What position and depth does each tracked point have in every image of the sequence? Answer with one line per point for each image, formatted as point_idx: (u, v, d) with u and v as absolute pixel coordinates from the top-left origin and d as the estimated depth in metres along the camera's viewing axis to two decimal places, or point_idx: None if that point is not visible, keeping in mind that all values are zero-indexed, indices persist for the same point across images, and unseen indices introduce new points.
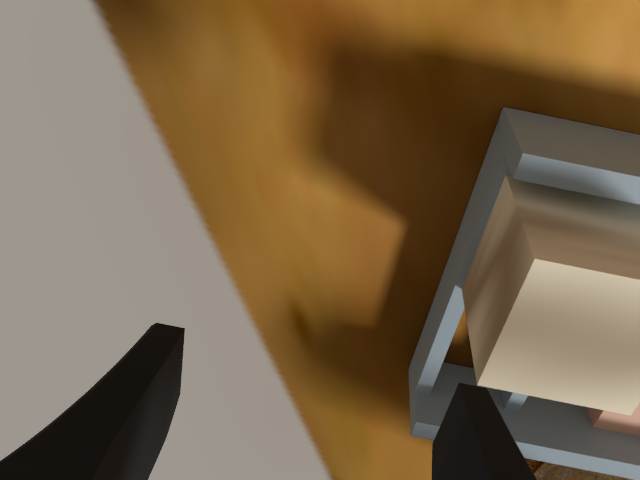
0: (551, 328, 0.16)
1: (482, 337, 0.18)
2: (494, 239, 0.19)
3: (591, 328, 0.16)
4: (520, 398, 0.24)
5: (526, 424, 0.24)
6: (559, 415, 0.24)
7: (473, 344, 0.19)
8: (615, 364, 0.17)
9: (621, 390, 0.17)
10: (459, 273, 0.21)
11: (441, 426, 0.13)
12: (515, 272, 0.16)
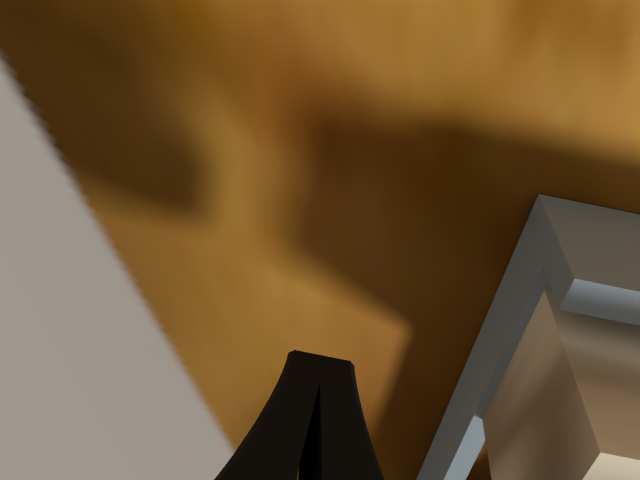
0: None
1: None
2: (529, 377, 0.14)
3: None
4: None
5: None
6: None
7: None
8: None
9: None
10: (479, 401, 0.16)
11: None
12: (566, 452, 0.12)
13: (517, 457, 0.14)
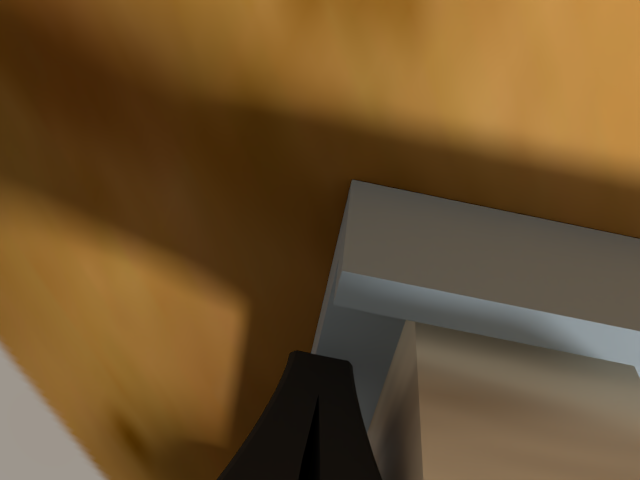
0: None
1: None
2: (395, 392, 0.13)
3: None
4: None
5: None
6: None
7: None
8: None
9: None
10: None
11: None
12: None
13: None
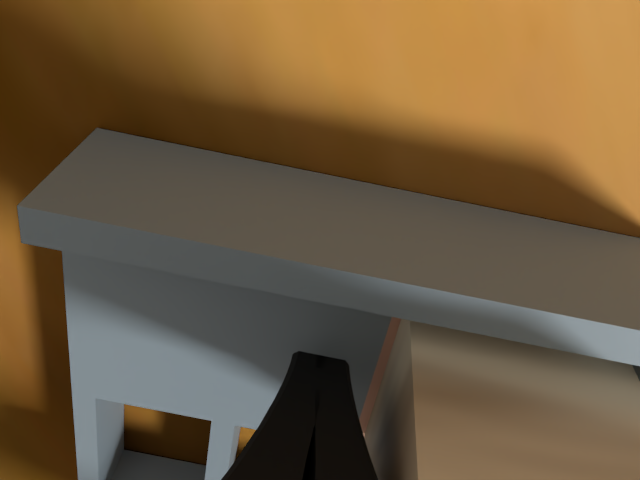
0: None
1: None
2: (391, 391, 0.13)
3: None
4: None
5: None
6: None
7: None
8: None
9: None
10: (71, 359, 0.15)
11: None
12: (401, 479, 0.10)
13: None
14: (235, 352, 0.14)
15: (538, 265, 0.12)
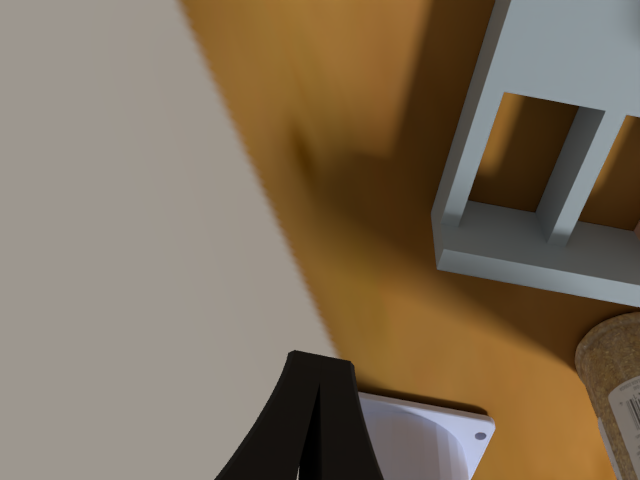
0: None
1: None
2: None
3: None
4: (567, 226, 0.20)
5: (574, 257, 0.20)
6: (612, 251, 0.21)
7: None
8: None
9: None
10: (496, 46, 0.17)
11: None
12: None
13: None
14: None
15: None
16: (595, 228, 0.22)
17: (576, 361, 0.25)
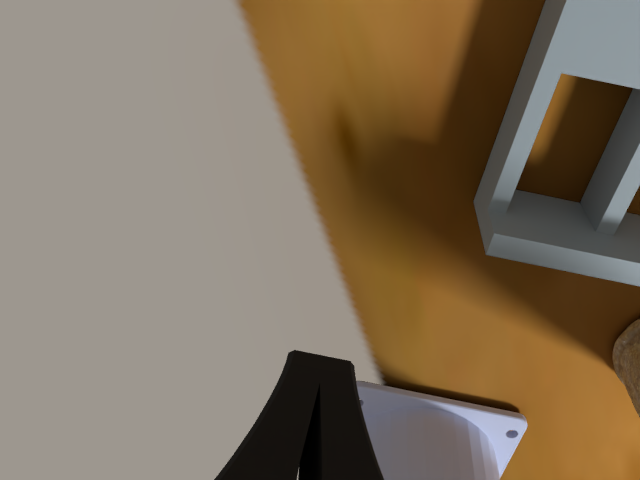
0: None
1: None
2: None
3: None
4: (617, 214, 0.20)
5: (624, 245, 0.20)
6: None
7: None
8: None
9: None
10: (556, 26, 0.17)
11: None
12: None
13: None
14: None
15: None
16: None
17: (614, 357, 0.25)
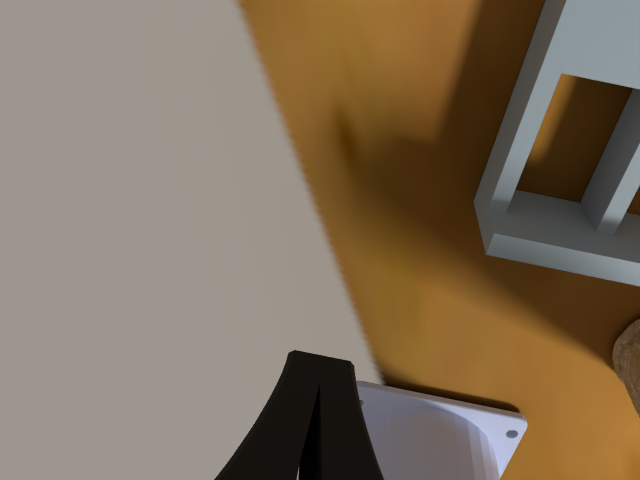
0: None
1: None
2: None
3: None
4: (617, 214, 0.20)
5: (624, 245, 0.20)
6: None
7: None
8: None
9: None
10: (556, 26, 0.17)
11: None
12: None
13: None
14: None
15: None
16: None
17: (614, 357, 0.25)
